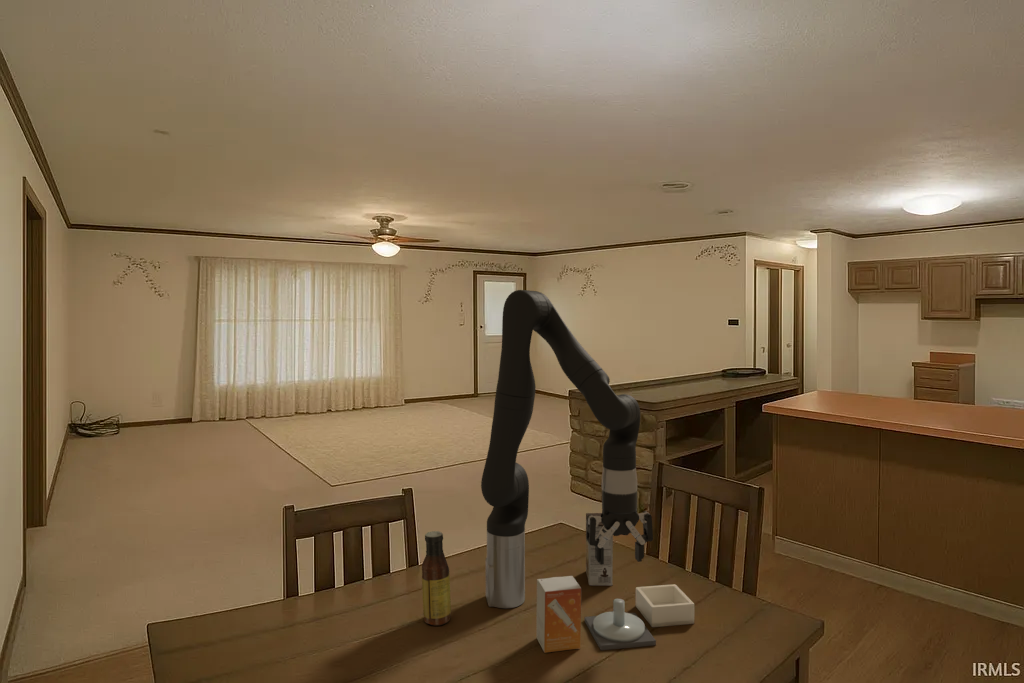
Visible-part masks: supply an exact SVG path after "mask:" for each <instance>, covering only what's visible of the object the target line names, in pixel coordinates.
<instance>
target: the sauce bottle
mask: <svg viewBox="0 0 1024 683" xmlns="http://www.w3.org/2000/svg"><path fill="white" fill-rule="evenodd" d="M443 540H444V534H443V532H441V531H439V530H434V531H433V530H432V531H428V532H426V533H425V534H424V541H425V547H426V550H425V557H424V559H423V561H422V564H421V585H422V586H421V587H422V588H421V589H422V609H423V610H422V613H423V614H422V615H423V619H424V622H425V624H428V625H430V626H442V625H446V624H447V623H449V621H450V620H451V612H452V605H451V602H452V600H451V578H450V567H449V564H448V562H447V558H446V556H445V553H444V549H443Z"/></svg>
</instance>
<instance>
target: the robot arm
mask: <svg viewBox="0 0 1024 683" xmlns="http://www.w3.org/2000/svg"><path fill="white" fill-rule="evenodd" d="M502 309H503V310H502V324H501V327H502V328H501V332H502V333H501V351H500V359H499V368H498V376H497V384H496V390H495V398H494V406H493V415H492V421H491V422H492V423H491V430H490V439H489V444H488V451H487V455H486V458H485V463H484V466H483V468H484V469H483V472H482V476H481V481H480V487H481V493H482V497H483V498H484V501H486V503H487V504H489V505H490V506H491V507H492V510H491V512H490V514H489V515H488V517H487V520H486V557H485V597H486V602H487V605H488V607H495V608H498V609H513V608H516V607H519V606H521V605H523V603H525V600H526V586H525V585H526V580H525V579H526V566H525V565H526V557H525V556H526V546H525V545H526V544H525V542H526V540H525V537H526V534H525V532H526V521H527V518H528V514H529V497H530V495H529V494H530V484H529V483H530V482H529V477H528V476H529V475H528V473H527V471H526V469H525V468H524V467H523V466H522V465H521V464H519V463H518V462H517V456H518V451H519V448H520V446H521V444H522V440H523V438H524V436H525V434H526V432H527V430H528V429H527V428H528V427H529V424H530V423H531V419H532V416H533V413H534V412H533V411H534V405H535V397H536V379H535V375H534V371H533V366H532V363H531V356H530V355H531V354H530V353H531V352H530V350H531V342H532V335H533V331H534V332H535V333H536V334H538V335H539V336H540V337H541V338H542V339H543V340H545V341H546V343H547V344H548V345H549V347H550V348H551V349H552V351H553V353H554V355H555V357H556V360H557V362H558V364H559V366H560V368H561V370H562V372H563V373H564V375H565V376H566V377H567V378H568V379H569V381H570V382H571V383H572V384H573V386H574V387H576V389H577V390H578V391H579V393H581V395H583V398H585V401H586V403H587V405H588V407H589V408H590V410H591V412H592V413H593V415H594V417H595V418H596V420H597V421H598V423H600V424H601V425H602V426H603V427H605V428H606V429H608V430H609V431H608V432H609V434H608V437H607V439H606V440H605V442H604V443H603V445H602V446H603V448H602V473H601V513H602V514H601V516H592V515H591V514H589V515H588V517H587V535H586V534H585V541H586V540H587V541H588V543H589V544H590V545H591V546H595V558H596V560H597V562H599V564H600V565H602V564H604V548H603V545H604V544H605V543H606V541H607V540H609V539H610V537H611V536H612V535H613V537H618V536H628V535H630V534H631V535H632V536H633V538H634V539H635V540H636V541H634V558H635V560H636V561H637V562H642V561H643V559H644V558H645V544H646V543H648V542H652V541H654V532H653V516H652V514H650V513H649V512H648V511H646V510H644V511H642V512H640V513H639V512H638V474H637V451H636V450H637V449H636V447H637V443H638V437H639V431H640V425H641V424H640V423H641V408H640V405H639V402H638V401H637V399H636V398H634V397H633V396H632V395H630V394H626V393H624V394H623V393H622V394H616V393H615V392H614V390H613V388H612V387H611V385H610V382H611V381H610V377H609V375H608V374H607V372H606V371H605V370H604V369H603V368H602V367H601V366H600V365H599V363H598V362H597V360H595V359H594V358H593V357H592V356H591V355H590V354H589V353H588V351H587V350H586V349H585V348H584V347H583V345H582V344H580V342H579V340H577V338H576V337H575V335H574V334H573V333H572V331H571V330H570V329H569V328H568V326H567V324H566V323H565V322H564V320H563V319H562V317H561V316H560V314H559V312H558V311H557V309H556V307H555V306H554V304H553V303H552V301H551V300H550V298H549V297H548V296H547V295H546V294H545V293H542V292H540V291H536V290H525V289H516V290H514V291H512V292H510V294H509V295H508V296H507V297H506V299H505V302H504V304H503V308H502ZM639 521H640V522H641V523H642V530H643V531H642V532H643V534H640V532H639V531H638V529H637V528H636V525H637V524H638V523H639ZM599 522H602V524H603V525H604V526H603V527H602V528H601V530H600V532H599V534H598V536H597V537H596V538H595V533H596V527H597V526H598V524H599Z"/></svg>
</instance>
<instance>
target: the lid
mask: <svg viewBox="0 0 1024 683" xmlns="http://www.w3.org/2000/svg"><path fill="white" fill-rule="evenodd" d="M612 601H613V602H612V604H613V607H612V608H613V609H612V610H613V611H605V612H601V613H599V614H598V615H595V616H596V617H595V619H594V621H593V627H594V630H595V632H596V633H597V634H598V635H600V636H601V637H603V638H605V639H608V640H612V641H617V642H630V641H634V640H637V639H639V638H641V637H642V636H643V635H644V633H645V627H646V626H645V623H644V621H643V620H642V619H641V618H640V617H639V616H638V615H637V616H638V617H639V618H638V617H637V616H635V615H632V614H629V613H630V612H625V610H626V609H625V604H626V603H625V600H624V599H622V598H615V599H613V600H612Z"/></svg>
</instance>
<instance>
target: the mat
mask: <svg viewBox="0 0 1024 683" xmlns="http://www.w3.org/2000/svg"><path fill="white" fill-rule="evenodd" d="M628 613H629V614H632V615H635V616H637V617H638V618H640V617H639V615H638V614H637V613H636V612H628ZM596 616H597V615H593V616H584V623H585V624H586V627H587V629H588V630H589V632H590V634H591V636H592V637H593V640H594V641H595V642H596V644H597V647H598V648H599V650H600V651H608V650H618V649H620V650H621V649H629V648H631V649H632V648H639V647H649V646H656V645H657V640H656V638H655V637H654V636H653V635H652V633H651V632H650V630H649V629H648V628H647V627H646V626H645V633H644V635H643V636H642V637H641V638H639V639H637V640H634V641H630V642H617V641H612V640H608V639H605V638H603V637H601V636H600V635H598V634H597V633H596V632H595V630H594V627H593V621H594V619H595V617H596Z"/></svg>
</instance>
